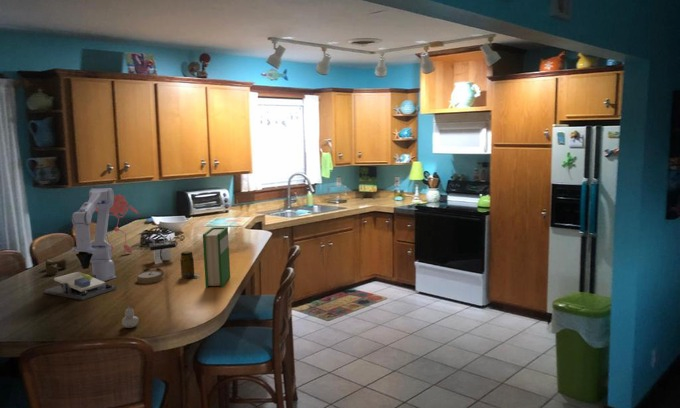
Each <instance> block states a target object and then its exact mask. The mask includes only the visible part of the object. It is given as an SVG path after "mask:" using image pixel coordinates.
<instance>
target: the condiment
mask: <svg viewBox="0 0 680 408" xmlns="http://www.w3.org/2000/svg"><path fill="white" fill-rule="evenodd" d="M194 259H195V258H194V256H193V252H192V251H181V253H180V275H181V276H180V277H178V279H179V280H180V279H181V280H185V279H197V278H199V277H200V276H201V274H196V273H195V261H194Z"/></svg>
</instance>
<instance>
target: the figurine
mask: <svg viewBox="0 0 680 408" xmlns="http://www.w3.org/2000/svg"><path fill="white" fill-rule="evenodd" d="M128 205H129V201H127V200H126V196H124V195H121V193H118V194H116V195H115V194H114V202H113V206H112V207H110V210H109V213H112V214H109V217H110V216H113V217H115V218H117V223H116V227H114V229H113V230H112V231H110V232H109V233H108V232H107V236H106V239H107V242H108V243H110V240H109V236H108V235H110V234H111V233H113V232H119V231H120V232H121V233H123V234H124V235H125V237H124V239H125V240H124V241H125V244H123V246H122V247H123V250H124V251H123V256H125V255H126V251H127V252H128V253H132V252H133V251H132V250H133V249H132V248H131V247H130V245H128V244H127V233H126V232H124V231H123V230H121V229H120V228H119V227H118V226H119V221H120V218H124V217H125V215H126V213H127V212H128V211H129V209H130V210H131V211H133V213H135V214H137V215H140V213H139V211H138V210H137V209H136V208H135V207H133V206H132V205H129V206H128ZM94 212H95V213H96V212H97V213H98V208H96V207H95V211H94ZM118 214H120V215H118ZM121 215H122V216H121ZM110 245H111V247H112V248H111V251H113V252H114V247H113V245H112V244H110ZM125 250H126V251H125ZM135 255H136V254H134V256H135Z"/></svg>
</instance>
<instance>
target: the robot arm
mask: <svg viewBox="0 0 680 408" xmlns="http://www.w3.org/2000/svg"><path fill="white" fill-rule="evenodd" d="M114 193H115V192H114V190H113V189H112V188H111V187H109V188H108V187H106V188H93V187H92V188H90V190H89V192H88V198H89V199H88V200H87V201H84V203H83V204H82V205H81V206H80V208H79V209H78V210H77V211H75V212H73V213H72V215H71V222H72V225H73V229H74V230H75V242H76V243H75V244H76V246H72V247H71V252H72V253H73V252H75V253H76V255H75V256H76V257H77V259H78V260H79V262H80V265H81V267H82V270H86V269H89V268H90V264H91V269H92V270H91V271H92V275H96V279H98V280H101V281H103V282H106V281H108V280H109V281H110V280H112V279H116V278H117V276H116V270H115V267H116V266H115V263H114V261H113V260H112V259H111V258H112V254H113V253H112V251H111V248H112V247H111V245H112V244H110V242H108V241H107V234H108V228H109V226H108V225H109V217H110V216H109V215H110V212H109V210H110V207H112V206H113V202H114V195H115V194H114ZM95 207H96V208H98V211H97V219H96V227H95V235H94V240H93V241H92V239H91V229H90V224H91V222H92V218H93V214H94V213H95V212H96V211H95ZM91 241H92V242H91Z"/></svg>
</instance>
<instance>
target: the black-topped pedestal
mask: <svg viewBox="0 0 680 408" xmlns="http://www.w3.org/2000/svg"><path fill="white" fill-rule="evenodd" d="M148 247H149V250H150V251H153V262H154V265H158V264H163V263H164V261H170V260H172V258H171V257H172V256H171V248H172V249H173V248H176V242H175V241H172V237H169V240H168V241H166V239H165V238H161V239H160V238H159V239H154V241H153V242H151V243H148Z"/></svg>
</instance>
